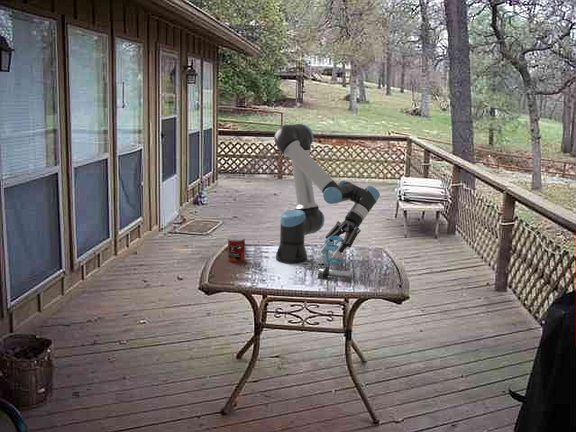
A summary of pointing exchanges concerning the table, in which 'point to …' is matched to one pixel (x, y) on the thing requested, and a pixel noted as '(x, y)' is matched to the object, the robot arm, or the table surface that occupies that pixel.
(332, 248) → the chair
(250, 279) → the table surface
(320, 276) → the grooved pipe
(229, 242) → the canned food
